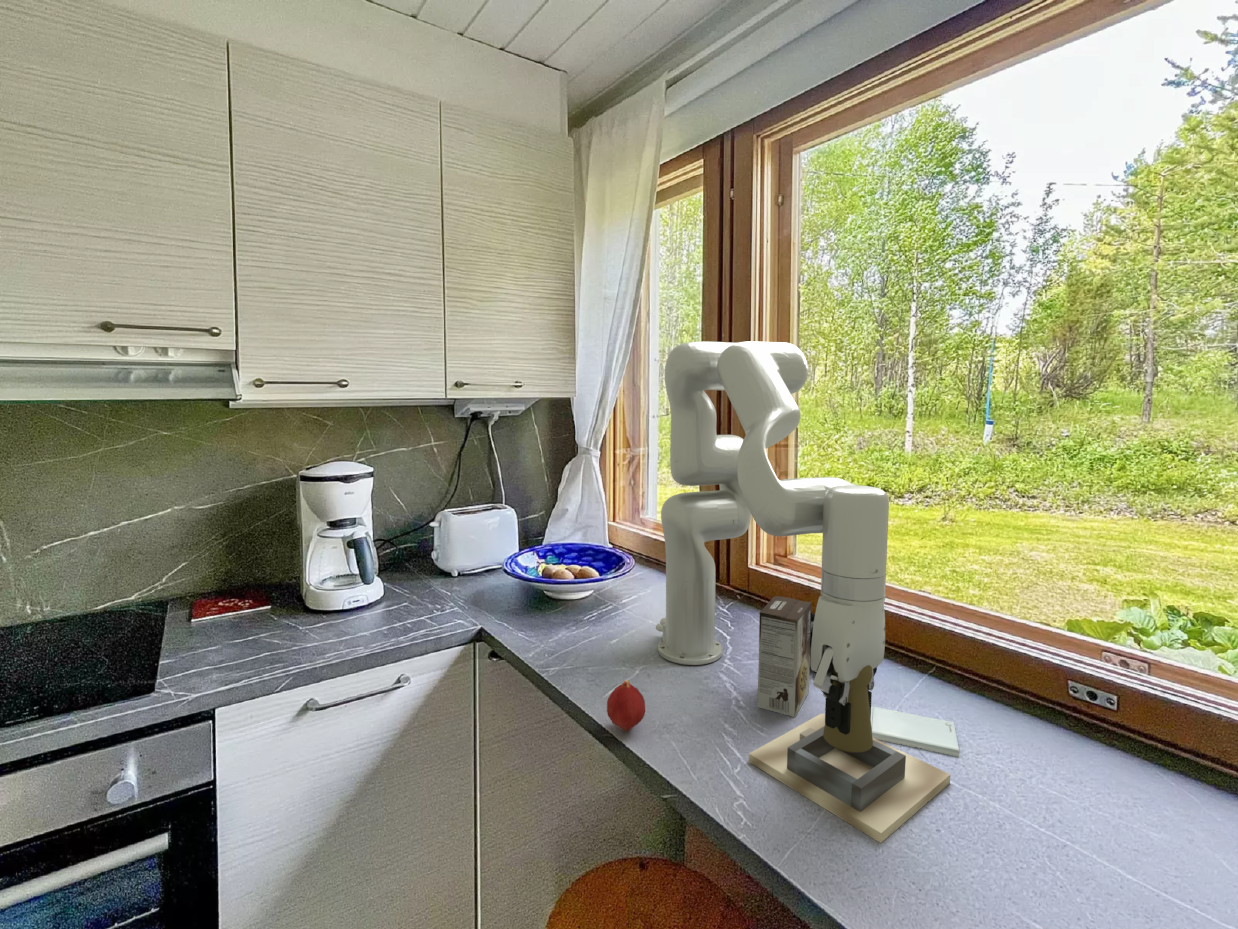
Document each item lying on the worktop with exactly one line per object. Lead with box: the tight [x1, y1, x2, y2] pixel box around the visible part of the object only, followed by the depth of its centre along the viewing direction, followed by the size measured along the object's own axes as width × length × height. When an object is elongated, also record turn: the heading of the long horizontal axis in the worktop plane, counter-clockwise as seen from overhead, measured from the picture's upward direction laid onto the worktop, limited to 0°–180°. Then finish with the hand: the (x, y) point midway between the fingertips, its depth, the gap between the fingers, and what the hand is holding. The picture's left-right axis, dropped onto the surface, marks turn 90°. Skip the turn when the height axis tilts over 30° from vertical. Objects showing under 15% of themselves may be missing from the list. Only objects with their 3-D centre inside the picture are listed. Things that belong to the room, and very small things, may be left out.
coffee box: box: [757, 595, 812, 718], centre depth 98 cm, size 9×6×16 cm
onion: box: [606, 679, 646, 733], centre depth 89 cm, size 6×6×8 cm
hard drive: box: [871, 705, 960, 758], centre depth 89 cm, size 2×8×12 cm
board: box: [748, 713, 951, 844], centre depth 79 cm, size 19×17×4 cm
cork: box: [823, 665, 873, 752], centre depth 76 cm, size 6×6×11 cm
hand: (847, 721), depth 77 cm, fingers closed on cork, 4 cm apart
